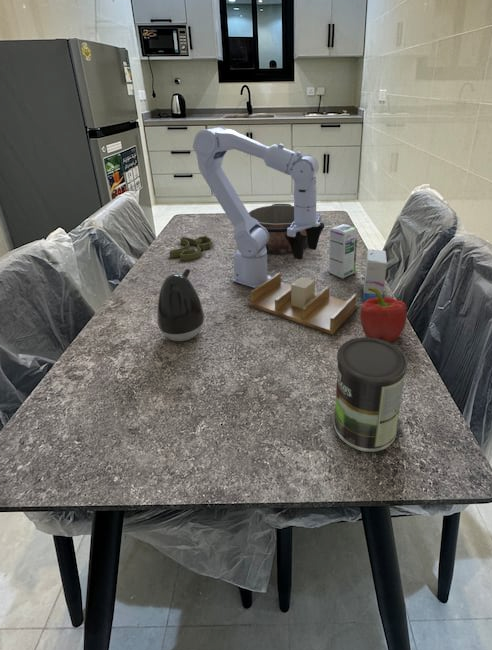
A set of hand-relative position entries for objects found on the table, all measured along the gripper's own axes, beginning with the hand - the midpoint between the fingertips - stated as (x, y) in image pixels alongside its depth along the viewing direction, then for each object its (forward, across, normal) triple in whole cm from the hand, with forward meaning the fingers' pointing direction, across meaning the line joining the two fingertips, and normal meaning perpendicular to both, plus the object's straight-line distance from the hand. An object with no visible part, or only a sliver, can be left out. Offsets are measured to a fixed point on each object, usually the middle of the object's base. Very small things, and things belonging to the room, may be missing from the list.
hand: (305, 253), depth 103 cm
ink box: (+11, +6, -18) cm, 21 cm away
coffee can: (+11, -36, -32) cm, 50 cm away
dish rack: (+10, -9, -4) cm, 15 cm away
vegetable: (+11, -10, -26) cm, 30 cm away
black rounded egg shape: (+10, -34, +12) cm, 38 cm away
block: (+9, -9, -4) cm, 14 cm away
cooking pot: (+10, +25, +26) cm, 37 cm away
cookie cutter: (+10, +3, +48) cm, 49 cm away
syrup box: (+11, +14, -4) cm, 18 cm away
